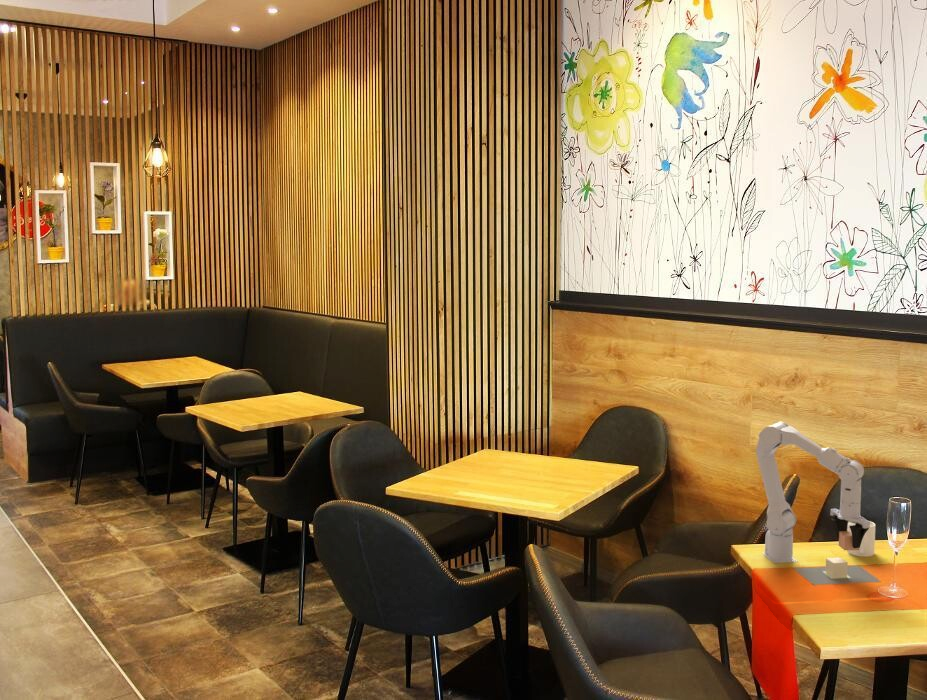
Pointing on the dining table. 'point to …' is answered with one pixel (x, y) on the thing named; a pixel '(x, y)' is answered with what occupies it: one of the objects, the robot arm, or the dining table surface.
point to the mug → (865, 542)
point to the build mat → (821, 577)
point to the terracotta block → (846, 540)
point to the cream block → (836, 567)
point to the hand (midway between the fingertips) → (848, 544)
